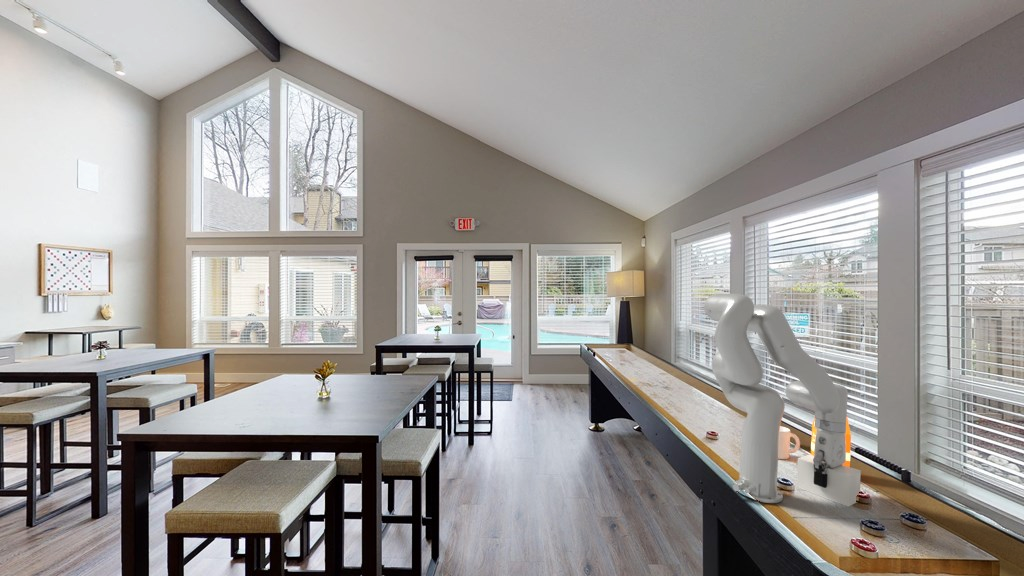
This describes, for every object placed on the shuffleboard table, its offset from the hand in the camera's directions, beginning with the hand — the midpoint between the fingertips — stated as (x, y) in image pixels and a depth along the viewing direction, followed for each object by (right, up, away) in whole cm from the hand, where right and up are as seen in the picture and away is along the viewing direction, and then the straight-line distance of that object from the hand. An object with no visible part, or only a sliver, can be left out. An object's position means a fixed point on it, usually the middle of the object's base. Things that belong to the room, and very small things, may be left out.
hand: (827, 482), depth 125 cm
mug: (+5, -4, +29) cm, 30 cm away
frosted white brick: (0, -3, 0) cm, 3 cm away
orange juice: (+13, -4, +17) cm, 21 cm away
